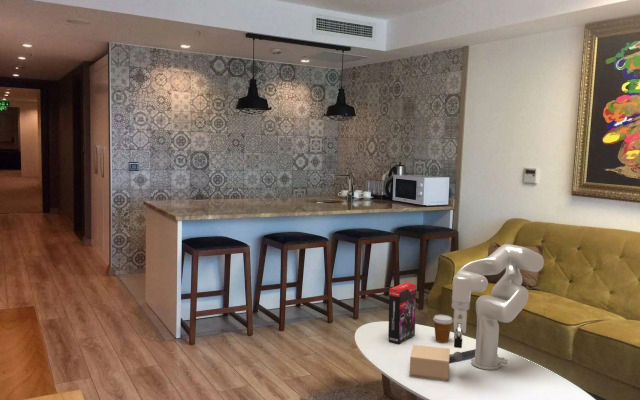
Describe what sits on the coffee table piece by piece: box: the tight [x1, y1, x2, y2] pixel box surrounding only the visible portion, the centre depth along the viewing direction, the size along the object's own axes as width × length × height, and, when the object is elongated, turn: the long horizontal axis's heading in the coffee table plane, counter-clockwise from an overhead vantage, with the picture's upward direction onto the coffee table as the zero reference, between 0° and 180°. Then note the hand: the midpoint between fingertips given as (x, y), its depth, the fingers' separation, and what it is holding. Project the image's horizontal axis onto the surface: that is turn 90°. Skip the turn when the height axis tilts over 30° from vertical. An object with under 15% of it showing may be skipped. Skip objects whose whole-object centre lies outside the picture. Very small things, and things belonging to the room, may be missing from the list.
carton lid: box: [409, 344, 464, 364], centre depth 236 cm, size 22×14×4 cm
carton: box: [409, 358, 450, 382], centre depth 238 cm, size 16×14×8 cm
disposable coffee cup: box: [432, 314, 454, 344], centre depth 275 cm, size 10×10×12 cm
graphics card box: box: [387, 281, 417, 345], centre depth 275 cm, size 17×7×27 cm, turn 143°
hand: (457, 343), depth 233 cm, fingers open, 9 cm apart
